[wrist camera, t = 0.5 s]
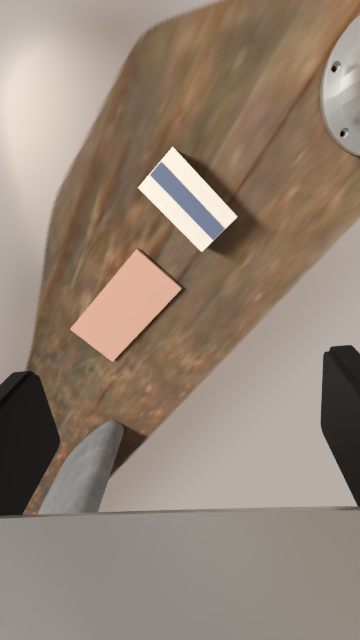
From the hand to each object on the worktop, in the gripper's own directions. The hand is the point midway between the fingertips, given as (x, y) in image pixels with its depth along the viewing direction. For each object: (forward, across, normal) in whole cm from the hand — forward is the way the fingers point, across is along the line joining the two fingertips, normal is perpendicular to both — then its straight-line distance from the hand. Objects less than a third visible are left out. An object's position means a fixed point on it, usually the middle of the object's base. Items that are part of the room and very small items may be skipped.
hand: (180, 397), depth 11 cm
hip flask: (+30, +20, +30) cm, 47 cm away
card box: (+30, 0, -5) cm, 30 cm away
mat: (+30, +10, +7) cm, 32 cm away
